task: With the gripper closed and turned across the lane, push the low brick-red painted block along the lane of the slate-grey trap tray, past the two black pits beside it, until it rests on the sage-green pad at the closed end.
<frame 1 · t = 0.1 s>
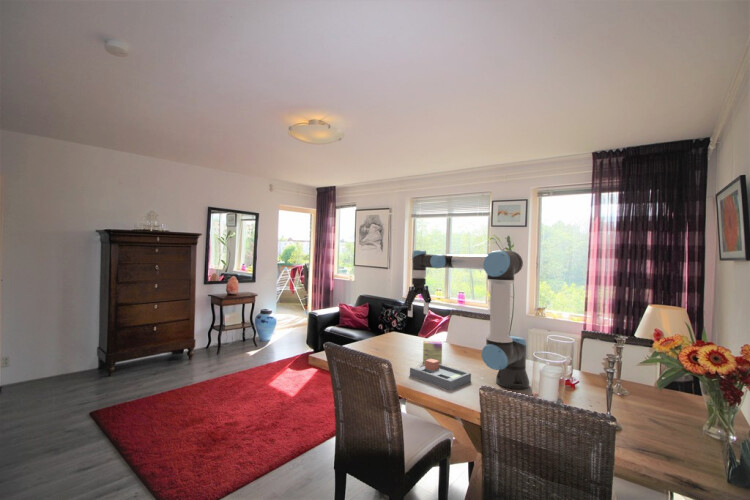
hand: (418, 315, 200), 28 cm above the table, fingers open, 13 cm apart
box: (432, 363, 204), on the table
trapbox: (439, 378, 179), on the table
block: (432, 368, 186), point 2 cm above the table, touching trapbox
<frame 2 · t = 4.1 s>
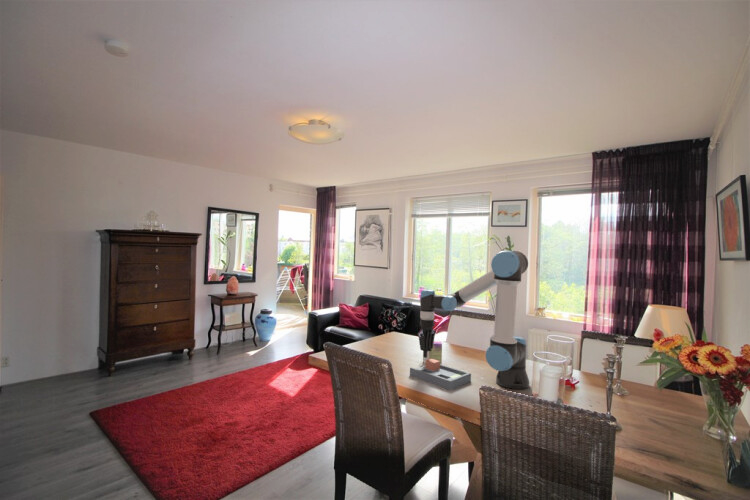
hand: (426, 363, 189), 4 cm above the table, fingers closed
block: (432, 368, 186), point 2 cm above the table, touching gripper, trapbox
everything else where it was.
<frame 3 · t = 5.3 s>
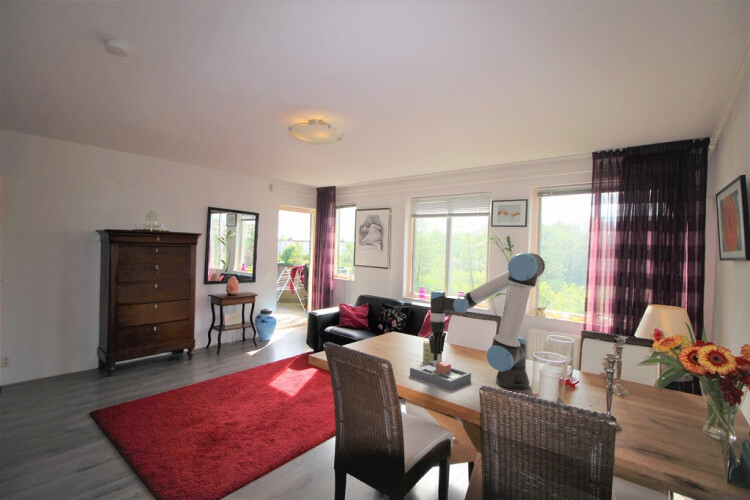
hand: (436, 366, 184), 4 cm above the table, fingers closed
block: (443, 371, 181), point 3 cm above the table, touching gripper
everything else where it was.
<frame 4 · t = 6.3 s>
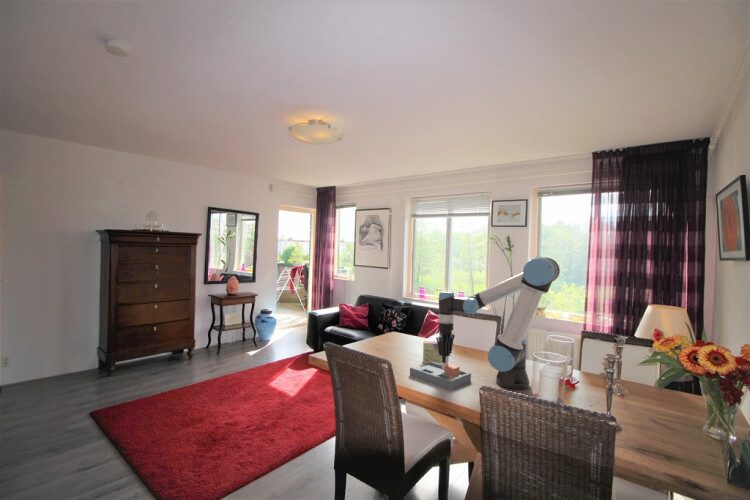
hand: (445, 368, 181), 4 cm above the table, fingers closed
block: (451, 374, 177), point 3 cm above the table, touching gripper
everything else where it was.
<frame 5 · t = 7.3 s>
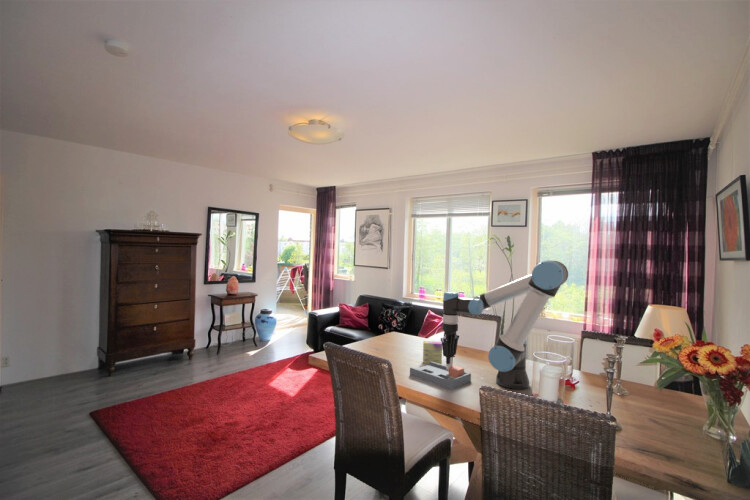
hand: (449, 369, 179), 4 cm above the table, fingers closed
block: (456, 376, 175), point 3 cm above the table, touching gripper, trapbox
everything else where it was.
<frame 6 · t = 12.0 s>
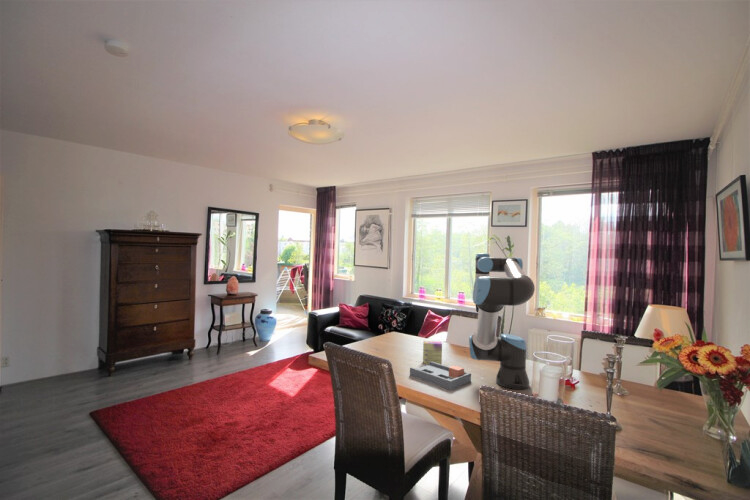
hand: (481, 324, 195), 24 cm above the table, fingers closed
block: (456, 376, 175), point 2 cm above the table, touching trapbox
everything else where it was.
at the end: block 0.4 cm from the target spot on the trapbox, point 2.5 cm above the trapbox's base; block tilted 0° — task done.
